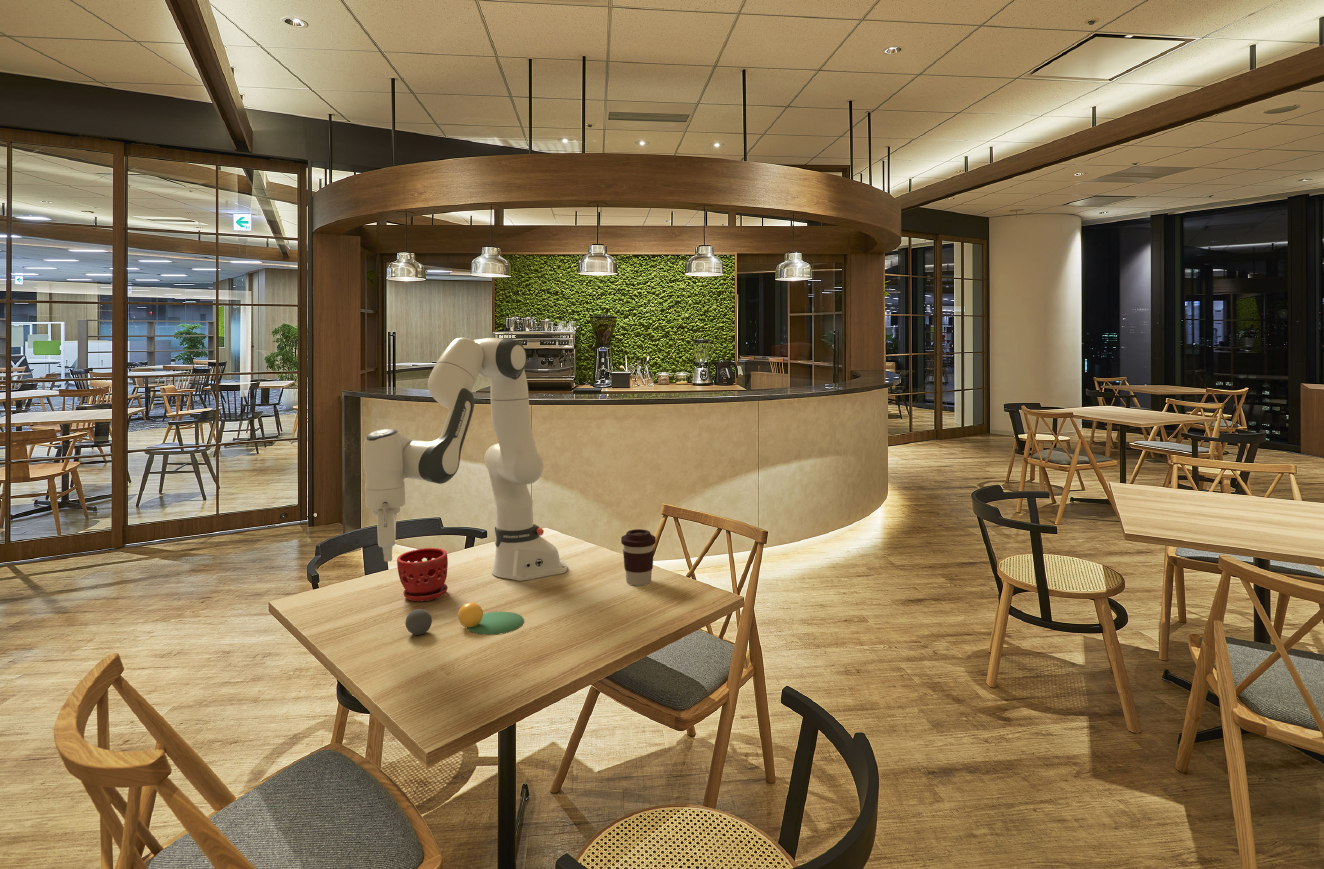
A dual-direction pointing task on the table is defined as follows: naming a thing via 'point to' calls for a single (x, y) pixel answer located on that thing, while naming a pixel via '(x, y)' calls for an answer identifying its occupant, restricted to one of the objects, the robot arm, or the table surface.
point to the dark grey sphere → (418, 621)
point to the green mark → (498, 623)
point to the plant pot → (423, 573)
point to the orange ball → (470, 615)
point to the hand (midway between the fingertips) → (388, 554)
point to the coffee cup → (638, 556)
